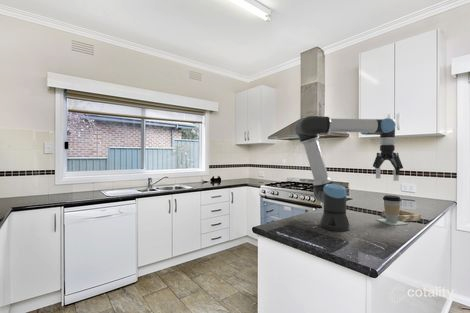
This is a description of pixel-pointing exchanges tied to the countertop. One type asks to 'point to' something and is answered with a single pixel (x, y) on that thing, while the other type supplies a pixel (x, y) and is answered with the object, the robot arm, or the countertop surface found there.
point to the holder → (407, 216)
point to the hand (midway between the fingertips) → (386, 179)
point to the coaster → (392, 222)
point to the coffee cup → (391, 208)
